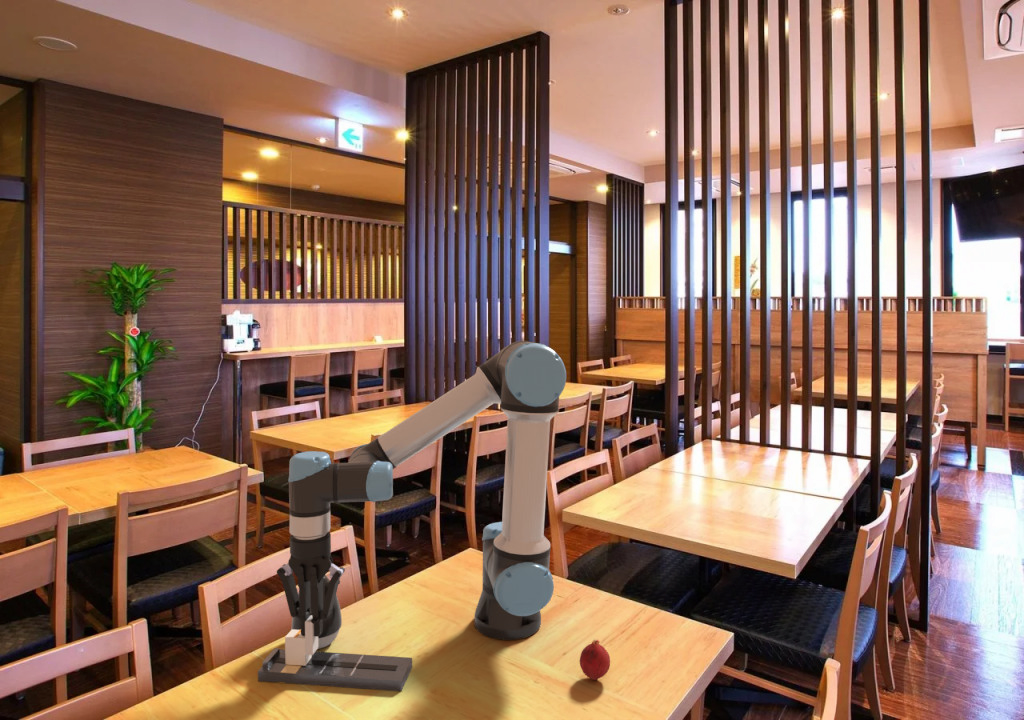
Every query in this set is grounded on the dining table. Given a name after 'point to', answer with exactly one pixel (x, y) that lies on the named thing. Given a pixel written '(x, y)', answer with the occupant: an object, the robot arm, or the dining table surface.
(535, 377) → the robot arm
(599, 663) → the onion
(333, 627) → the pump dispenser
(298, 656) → the fader knob
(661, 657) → the dining table surface
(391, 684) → the console
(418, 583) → the dining table surface
